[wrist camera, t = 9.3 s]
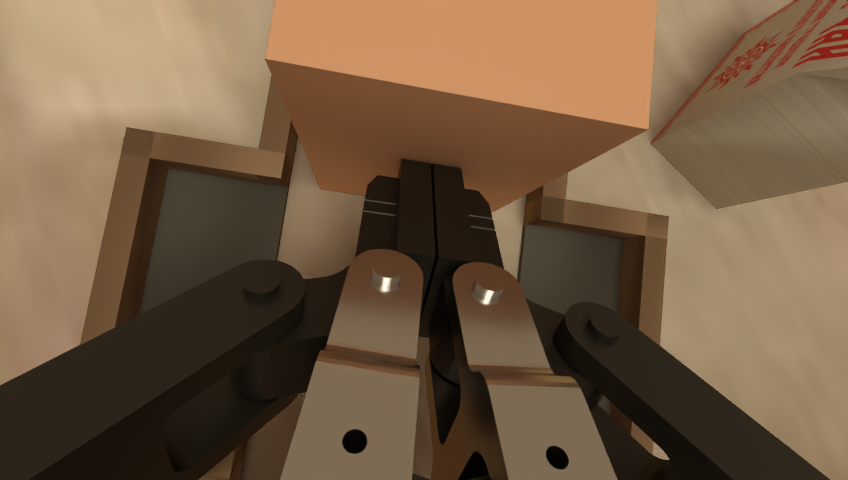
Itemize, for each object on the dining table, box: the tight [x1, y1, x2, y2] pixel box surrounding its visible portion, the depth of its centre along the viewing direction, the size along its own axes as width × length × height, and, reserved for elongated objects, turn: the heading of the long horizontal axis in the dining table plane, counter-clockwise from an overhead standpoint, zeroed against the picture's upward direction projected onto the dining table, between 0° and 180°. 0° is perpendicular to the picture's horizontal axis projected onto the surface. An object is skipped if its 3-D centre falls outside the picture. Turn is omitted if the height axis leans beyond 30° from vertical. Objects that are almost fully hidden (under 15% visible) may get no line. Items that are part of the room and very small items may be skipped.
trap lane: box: [80, 76, 669, 480], centre depth 14 cm, size 18×33×3 cm, turn 172°
